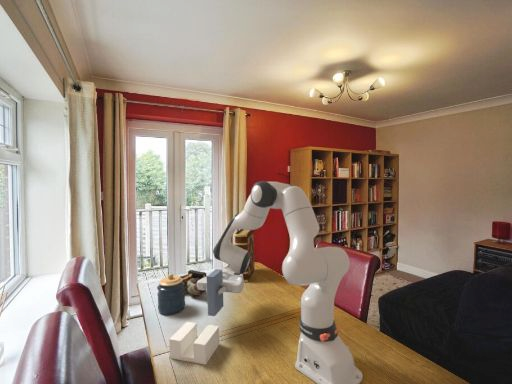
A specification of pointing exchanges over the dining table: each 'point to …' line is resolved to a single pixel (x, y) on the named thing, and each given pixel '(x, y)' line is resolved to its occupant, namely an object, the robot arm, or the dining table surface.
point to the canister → (171, 295)
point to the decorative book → (246, 242)
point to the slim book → (214, 292)
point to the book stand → (194, 343)
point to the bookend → (193, 282)
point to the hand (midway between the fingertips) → (212, 292)
